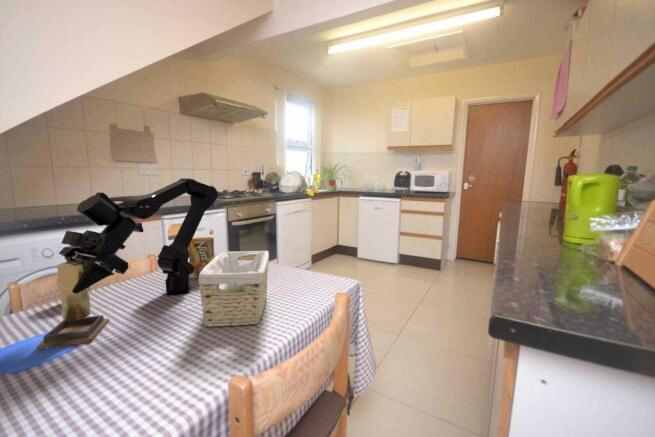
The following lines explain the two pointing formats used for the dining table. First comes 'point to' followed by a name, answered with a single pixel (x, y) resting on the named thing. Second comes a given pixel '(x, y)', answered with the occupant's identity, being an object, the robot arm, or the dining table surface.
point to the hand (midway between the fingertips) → (67, 291)
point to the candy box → (200, 253)
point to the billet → (71, 302)
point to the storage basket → (234, 288)
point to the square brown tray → (74, 332)
